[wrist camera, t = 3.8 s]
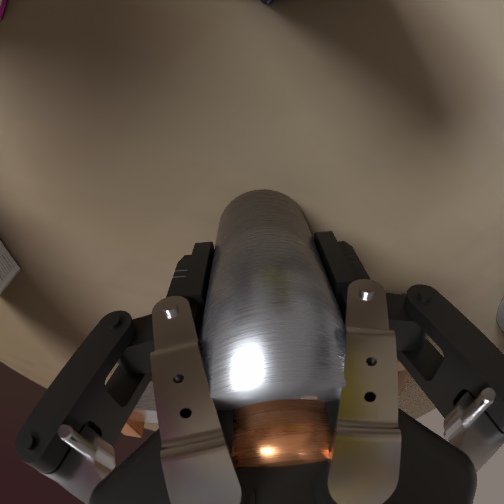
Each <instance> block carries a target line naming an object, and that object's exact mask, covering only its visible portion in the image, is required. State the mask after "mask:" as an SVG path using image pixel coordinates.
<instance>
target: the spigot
mask: <svg viewBox="0 0 504 504" xmlns="http://www.w3.org/2000/svg"><path fill="white" fill-rule="evenodd" d="M199 343H200V349H201V354H202V359H203V363H204V368H205V372H206V376H207V380H208V384H209V388H210V398H213V401H214V403H215V405H216V407H217V410H218V411H224V410H233V436H232V456H233V459H234V462H235V465H236V467H237V469H240V468H267V467H281V466H292V465H301V464H309V463H316V462H322V461H328V459H329V453H330V448H331V443H332V435H331V429H330V424H329V418H328V413H327V407H326V402H329V401H335V400H338V398H339V395H340V391H341V388H342V386H347V385H346V381H345V377H344V373H343V372H344V356H345V324H344V321H343V318H342V315H341V312H340V309H339V306H338V304H337V301H336V298H335V295H334V292H333V290H332V287H331V284H330V281H329V279H328V276H327V273H326V270H325V268H324V265H323V263H322V260H321V257H320V255H319V252H318V250H317V247H316V244H315V242H314V239H313V237H312V234H311V232H310V229H309V227H308V224H307V222H306V219H305V217H304V215H303V212H302V210H301V209H300V207H299V206H298V205H297V203H296V202H294V201H293V200H292V199H291V198H289V197H288V196H286V195H284V194H282V193H280V192H277V191H273V190H254V191H250V192H247V193H245V194H242V195H240V196H239V197H237V198H236V199H234V200H233V201H232V202H231V203H230V204H229V205H228V206H227V207H226V209H225V210H224V212H223V214H222V216H221V219H220V223H219V228H218V234H217V239H216V244H215V250H214V256H213V261H212V267H211V273H210V279H209V284H208V290H207V296H206V303H205V309H204V315H203V322H202V328H201V335H200V341H199Z"/></svg>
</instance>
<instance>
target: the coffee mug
mask: <svg viewBox="0 0 504 504" xmlns="http://www.w3.org/2000/svg"><path fill="white" fill-rule="evenodd" d="M497 323H498V325H499V326H500V328H501V329H502V331H503V332H504V297H503V299H502V301H501V303H500V306H499V309H498V312H497Z"/></svg>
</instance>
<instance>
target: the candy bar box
mask: <svg viewBox="0 0 504 504" xmlns="http://www.w3.org/2000/svg"><path fill="white" fill-rule="evenodd" d="M6 2H7V0H0V20H1V19H2V16H3V12H4V9H5V5H6Z"/></svg>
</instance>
